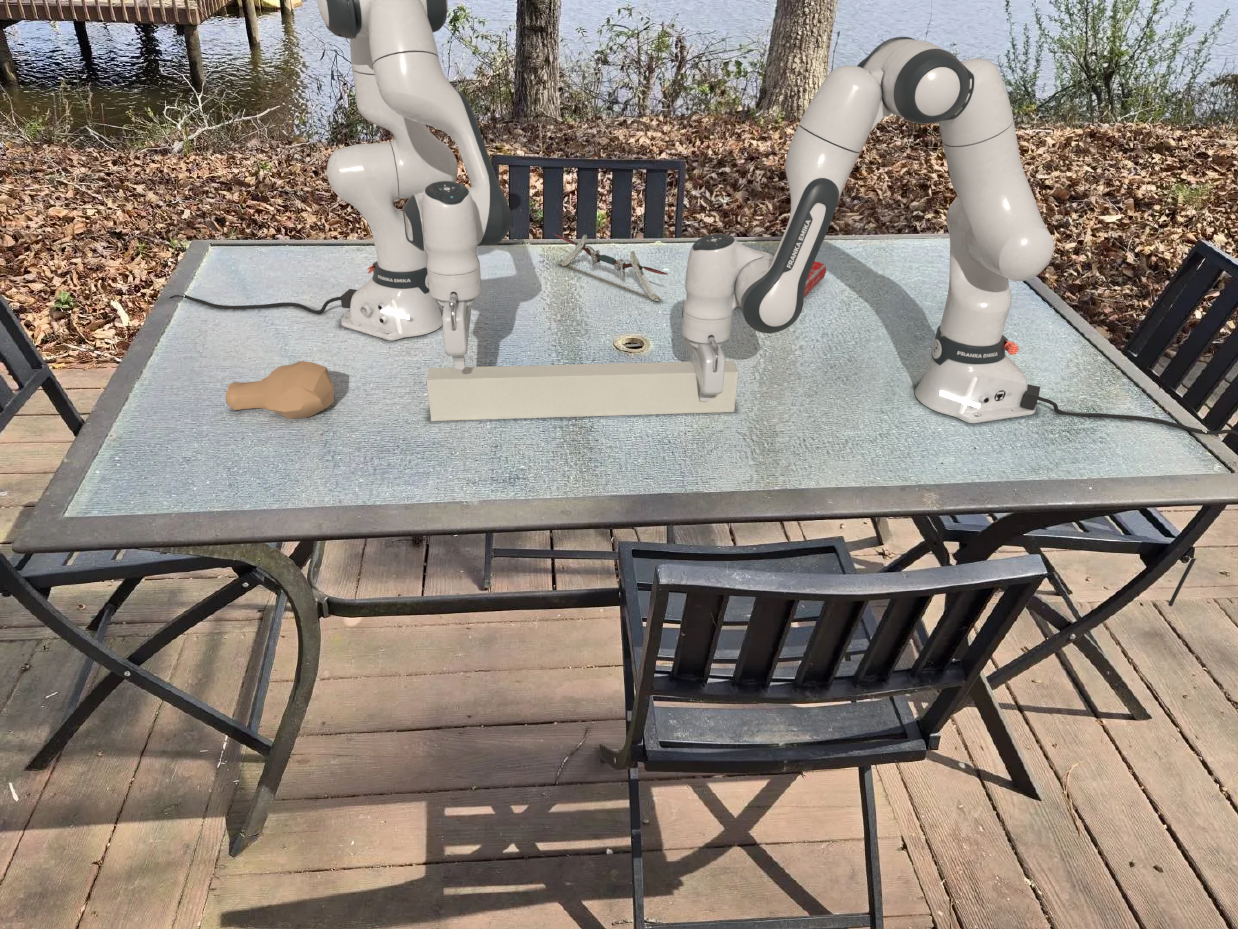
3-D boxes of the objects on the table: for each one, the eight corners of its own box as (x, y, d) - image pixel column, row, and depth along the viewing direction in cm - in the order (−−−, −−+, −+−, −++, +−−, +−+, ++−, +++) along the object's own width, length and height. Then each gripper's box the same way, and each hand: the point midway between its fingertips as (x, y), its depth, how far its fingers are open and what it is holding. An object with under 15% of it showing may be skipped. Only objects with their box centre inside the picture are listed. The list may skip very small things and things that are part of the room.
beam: (431, 421, 161) (426, 379, 156) (433, 408, 165) (428, 367, 160) (734, 412, 167) (738, 371, 162) (729, 400, 170) (733, 360, 166)
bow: (669, 303, 208) (671, 262, 203) (664, 305, 207) (666, 264, 202) (556, 260, 230) (555, 222, 224) (551, 262, 228) (550, 224, 223)
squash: (333, 425, 159) (316, 386, 153) (227, 433, 161) (206, 395, 155) (347, 387, 167) (331, 349, 161) (246, 396, 169) (227, 358, 162)
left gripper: (471, 306, 141) (477, 382, 148) (475, 261, 158) (480, 332, 165) (431, 306, 140) (439, 383, 148) (440, 261, 157) (447, 332, 165)
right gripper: (735, 350, 150) (728, 419, 158) (713, 302, 167) (707, 367, 175) (699, 351, 150) (693, 420, 157) (680, 302, 166) (676, 367, 174)
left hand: (461, 356), depth 157 cm, fingers open, 8 cm apart
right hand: (700, 392), depth 166 cm, fingers closed on beam, 4 cm apart
